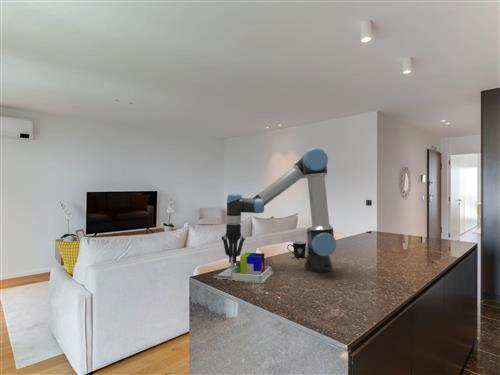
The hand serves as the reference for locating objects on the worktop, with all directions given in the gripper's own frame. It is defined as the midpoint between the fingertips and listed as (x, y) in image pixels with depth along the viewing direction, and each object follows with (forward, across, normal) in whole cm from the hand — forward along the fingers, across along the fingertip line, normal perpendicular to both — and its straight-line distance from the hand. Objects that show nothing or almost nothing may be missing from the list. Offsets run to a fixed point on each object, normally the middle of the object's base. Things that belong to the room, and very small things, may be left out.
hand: (232, 269), depth 147 cm
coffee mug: (+2, -25, -50) cm, 56 cm away
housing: (+3, -7, 0) cm, 7 cm away
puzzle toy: (+2, -11, 0) cm, 11 cm away
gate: (+2, -3, 0) cm, 4 cm away
